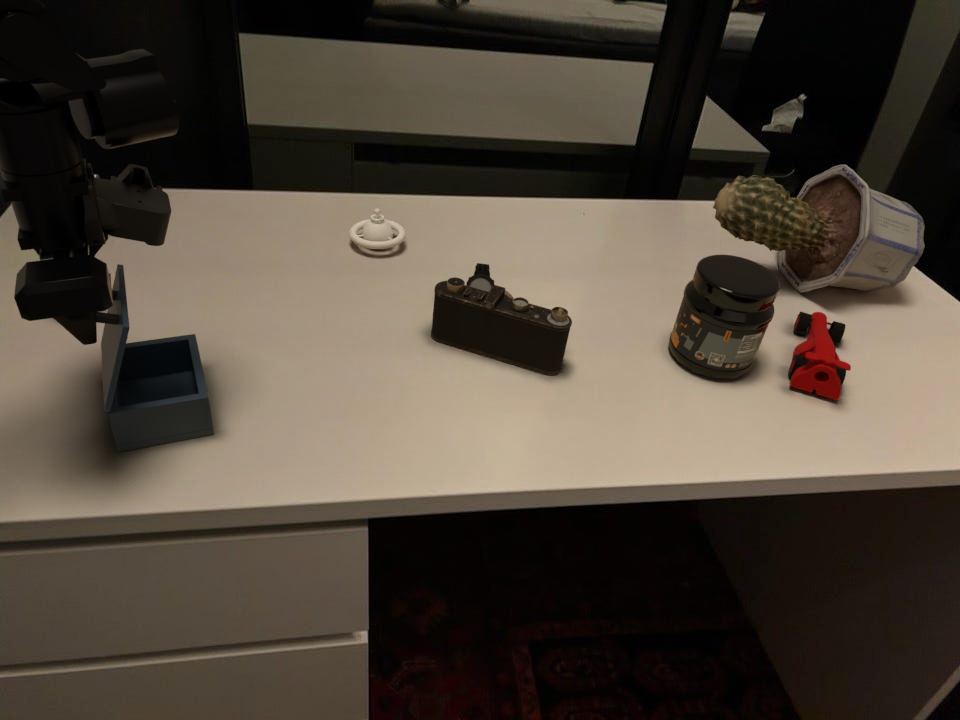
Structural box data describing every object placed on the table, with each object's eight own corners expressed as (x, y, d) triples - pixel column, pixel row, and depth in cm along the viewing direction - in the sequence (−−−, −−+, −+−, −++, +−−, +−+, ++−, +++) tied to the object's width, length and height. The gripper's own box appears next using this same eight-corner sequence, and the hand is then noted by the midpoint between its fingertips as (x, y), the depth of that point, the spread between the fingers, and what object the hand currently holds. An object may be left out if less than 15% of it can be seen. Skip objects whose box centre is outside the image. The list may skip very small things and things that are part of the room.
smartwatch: (458, 303, 96) (462, 270, 93) (475, 286, 100) (479, 253, 97) (487, 313, 95) (491, 280, 92) (503, 295, 99) (507, 263, 96)
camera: (570, 350, 90) (583, 295, 85) (556, 380, 85) (569, 323, 80) (445, 313, 94) (451, 258, 89) (425, 340, 88) (429, 283, 84)
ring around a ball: (399, 261, 102) (410, 235, 109) (400, 224, 99) (410, 199, 105) (343, 255, 103) (356, 229, 109) (341, 217, 99) (355, 193, 106)
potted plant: (892, 170, 112) (730, 112, 102) (966, 231, 98) (789, 171, 89) (821, 264, 122) (668, 220, 112) (880, 331, 109) (711, 287, 99)
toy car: (838, 330, 101) (853, 299, 98) (837, 404, 87) (855, 371, 84) (793, 317, 102) (807, 287, 99) (786, 388, 89) (801, 355, 86)
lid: (123, 264, 70) (69, 256, 67) (129, 327, 62) (69, 320, 60) (106, 343, 74) (54, 338, 71) (110, 411, 66) (52, 408, 64)
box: (200, 369, 80) (195, 333, 77) (214, 434, 72) (208, 397, 69) (113, 383, 76) (104, 346, 74) (117, 452, 69) (107, 414, 66)
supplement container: (678, 323, 98) (705, 242, 91) (757, 351, 95) (791, 270, 87) (656, 362, 90) (682, 278, 83) (741, 394, 87) (777, 309, 80)
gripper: (163, 203, 53) (196, 372, 62) (146, 112, 66) (175, 263, 76) (-16, 220, 49) (48, 398, 58) (4, 120, 62) (53, 278, 72)
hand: (89, 326), depth 66 cm, fingers closed on lid, 5 cm apart
